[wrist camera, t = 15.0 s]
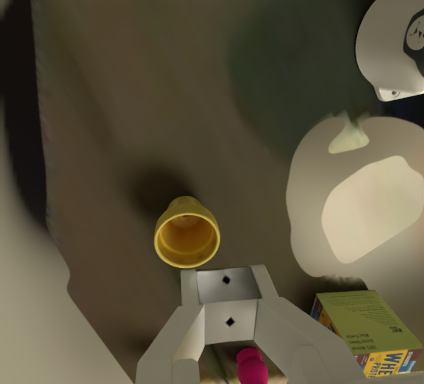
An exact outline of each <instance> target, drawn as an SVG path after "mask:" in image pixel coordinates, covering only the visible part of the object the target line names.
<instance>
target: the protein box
mask: <svg viewBox="0 0 424 384" xmlns="http://www.w3.org/2000/svg"><path fill="white" fill-rule="evenodd" d="M310 317H312V318H313V319H315V320H316V321H318V322H319V323H320V324H322V325H323V326H325V327H326V328H328V329H329V330H330V331H332V332H333V333H335V334H336V335H337V336H339V337H340V338H342V339H343V340H344V341H345V342H346V344H347V346H348V347H349V349H350V351H351V352H352V354H353V356H354V357H355V359H356V361H357V362H358V364H359V366H360V367H361V369H362V371H363V372H364V374H365V376H366V377H367V378H372V377H380V376H387V375H395V374H403V373H410V371H411V369H412V368H413V366H414V364H415V362H416V361H417V359H418V357H419V355H420V353H421V352H422V350H423V348H424V347H423V346H422V345H421V344H420V342H419V341H418V340H417V339H416V338H415V337H414V335H413V334H412V333H411V332H410V331H409V330H408V328H407V327H406V326H405V325H404V324H403V323H402V321H401V320H400V319H399V318H398V317H397V316H396V315H395V313H394V312H393V311H392V310H391V308H390V307H389V306H388V305H387V304H386V303H385V301H384V300H383V299H382V298H381V297H380V296H379V294H378V293H377V292H376V291H375V290H364V291H348V292H332V293H316V295H315V299H314V302H313V306H312V309H311V313H310Z"/></svg>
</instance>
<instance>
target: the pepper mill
mask: <svg viewBox="0 0 424 384" xmlns="http://www.w3.org/2000/svg"><path fill="white" fill-rule="evenodd" d="M236 359H237V364H238V366H239V368H238V377H239V380H240V382H241V384H267V382H268V371H267V367H266V365H265V363H264V362H263V361H262V357H261V354H260V351H259V350H258V349H256V348H252V347H250V348H245V349H243V350H241V351H240V352H239V353H238V354H237V357H236Z"/></svg>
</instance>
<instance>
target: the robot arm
mask: <svg viewBox="0 0 424 384" xmlns="http://www.w3.org/2000/svg"><path fill="white" fill-rule="evenodd" d="M356 59H357V63H358V66H359V69H360V71H361V72H362V74H363V75H364V77H365V78H366V79H367V80H368V81H369V82H370V83H371V84H372V85H373V86H374V89H375V92H376V95H377V97H378V99H379V100H381V101H390V100H395V99H400V98H404V97H409V96H414V95H418V94H423V93H424V0H376V1H375V2H374V3H373V4H372V5H371V7H370V8H369V10H368V11H367V13H366V14H365V16H364V18H363V20H362V23H361V25H360V28H359V31H358V35H357V40H356ZM392 91H394V93H393V94H392ZM181 290H182V306H179V307H178V308H177V309H176V310H175V312H174V313H173V314H172V316H171V317H170V319H169V320H168V321H167V323H166V324H165V326H164V327H163V328H162V330H161V331H160V333H159V334H158V335H157V337H156V338H155V339H154V341H153V342H152V344H151V345H150V346H149V348H148V349H147V351H146V352H145V353H144V355H143V356H142V358H141V359H140V360H139V362H138V365H137V374H136V383H135V384H200V380H199V370H198V359H199V357H200V355H201V353H202V351H203V348H204V345H206V344H213V343H220V342H228V341H239V340H252V339H254V341H255V342H256V344H257V345H258V346H259V347H260V348H261V349H262V350H263V351H264V352H265V353H266V354H267V356H268V357H269V358H270V359H271V360H272V361H273V362H274V363H275V364H276V365H277V366H278V368H279V369H280V370H281V371H282V372H283V373H284V374H285V375H286V376H287V377H288V381H287V384H424V371H418V372H410V373H403V374H395V375H387V376H380V377H372V378H367V377H366V376H365V374H364V372H363V371H362V369H361V367H360V366H359V364H358V362H357V361H356V359H355V357H354V356H353V354H352V352H351V351H350V349H349V347H348V346H347V344H346V342H345V341H344V340H343V339H342V338H340V337H339V336H337V335H336V334H335V333H333V332H332V331H330V330H329V329H328V328H326V327H325V326H323V325H322V324H320V323H319V322H318V321H316V320H315V319H313V318H312V317H310V316H309V315H308V314H306V313H305V312H303V311H302V310H300V309H299V308H298V307H296V306H295V305H293V304H292V303H291V302H289V301H288V300H286V299H285V298H283V297H278V294H277V292H276V290H275V288H274V285H273V283H272V281H271V279H270V277H269V274H268V272H267V270H266V268H265V266H264V265H263V264H262V265H251V266H243V267H231V268H216V269H197V270H182V271H181Z"/></svg>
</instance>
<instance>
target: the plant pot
mask: <svg viewBox="0 0 424 384" xmlns="http://www.w3.org/2000/svg"><path fill="white" fill-rule="evenodd" d="M219 243H220V233H219V229H218V225H217V222H216V220H215V218H214V216H213V215H212V214H211V212H210V211H208V210H207V209H206V208H204V207H203V206H202V204H201V203H200V202H199V201H198V200H197V199H196V198H194V197H190V196H181V197H178V198H176V199H174V200H173V201H172V202H171V203H170V205H169V206H168V209H167V211H165V212H164V213H163V214H162V215H161V217H160V218H159V220H158V222H157V224H156V228H155V235H154V246H155V249H156V252H157V254H158V255H159V256H160V258H161V259H162V260H164V261H165V262H166V263H168V264H170V265H172V266H175V267H180V268H191V267H196V266H199V265H201V264H203V263H205V262H207V261H208V260H209V259H211V258H212V257H213V255H214V254H215V253H216V251H217V249H218V247H219Z"/></svg>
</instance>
